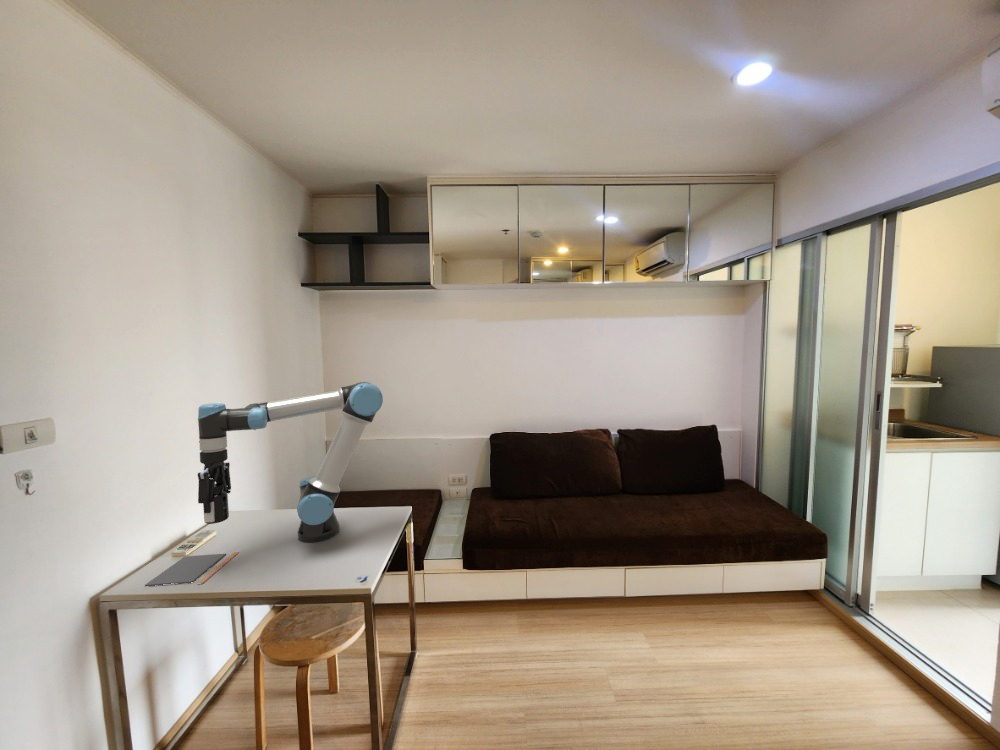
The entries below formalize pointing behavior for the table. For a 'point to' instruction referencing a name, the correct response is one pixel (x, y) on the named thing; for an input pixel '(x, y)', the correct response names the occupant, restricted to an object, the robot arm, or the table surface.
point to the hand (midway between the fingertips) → (216, 517)
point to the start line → (218, 567)
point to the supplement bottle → (219, 504)
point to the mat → (186, 569)
